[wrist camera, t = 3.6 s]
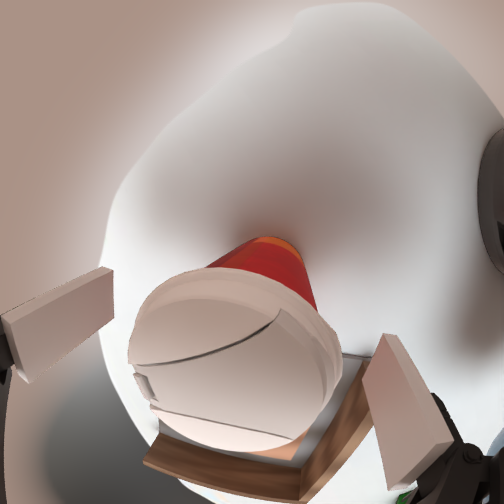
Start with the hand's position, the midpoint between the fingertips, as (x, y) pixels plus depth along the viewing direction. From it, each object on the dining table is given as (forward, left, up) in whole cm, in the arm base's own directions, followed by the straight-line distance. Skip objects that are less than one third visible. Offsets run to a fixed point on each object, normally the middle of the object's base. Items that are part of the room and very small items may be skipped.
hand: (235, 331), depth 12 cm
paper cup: (0, 0, -10) cm, 10 cm away
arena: (+16, +1, -10) cm, 19 cm away
